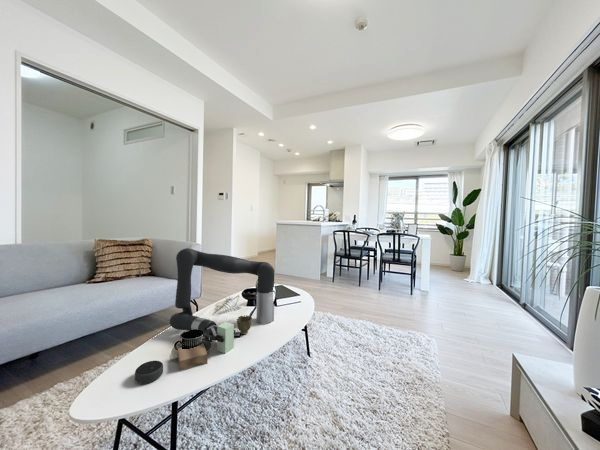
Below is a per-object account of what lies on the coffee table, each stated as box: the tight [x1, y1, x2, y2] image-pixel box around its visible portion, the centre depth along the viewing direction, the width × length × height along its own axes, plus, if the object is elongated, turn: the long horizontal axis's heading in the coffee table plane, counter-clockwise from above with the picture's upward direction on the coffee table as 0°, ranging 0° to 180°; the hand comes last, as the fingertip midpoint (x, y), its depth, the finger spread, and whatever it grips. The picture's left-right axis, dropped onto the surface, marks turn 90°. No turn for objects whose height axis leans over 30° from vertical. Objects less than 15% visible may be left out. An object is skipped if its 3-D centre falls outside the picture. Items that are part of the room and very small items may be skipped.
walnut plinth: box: [177, 342, 208, 372], centre depth 100 cm, size 10×10×4 cm
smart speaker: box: [134, 360, 164, 385], centre depth 90 cm, size 9×9×4 cm
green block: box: [216, 321, 235, 354], centre depth 109 cm, size 5×5×11 cm
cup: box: [236, 315, 253, 336], centre depth 124 cm, size 8×7×8 cm
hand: (229, 336), depth 108 cm, fingers open, 6 cm apart
